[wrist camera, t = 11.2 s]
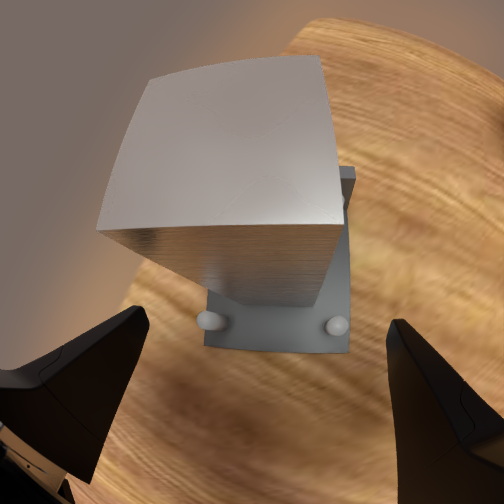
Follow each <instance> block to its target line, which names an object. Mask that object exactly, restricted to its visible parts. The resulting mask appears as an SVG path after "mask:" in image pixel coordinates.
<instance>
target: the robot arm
mask: <svg viewBox="0 0 504 504" xmlns="http://www.w3.org/2000/svg"><path fill="white" fill-rule="evenodd" d="M149 326H150V324H149V320H148V317H147V315H146V312H145V310H144V308H143V307H142V306H136V305H133V306H131V307H129V308H127V309H126V310H124V311H122V312H120V313H119V314H117V315H115V316H113V317H111V318H110V319H108V320H106V321H104V322H103V323H101V324H99V325H97V326H96V327H94V328H92V329H90V330H89V331H87V332H85V333H83V334H81V335H80V336H78V337H76V338H75V339H73V340H71V341H69V342H68V343H66V344H64V345H62V346H60V347H59V348H57V349H56V350H53V351H52V352H50V353H48V354H46V355H44V356H42V357H40V358H38V359H36V360H34V361H32V362H30V363H28V364H26V365H24V366H21V367H20V368H17V369H14V370H1V369H0V504H75V501H74V498H73V495H72V492H71V489H70V485H69V482H68V480H67V479H65V476H66V474H67V472H68V473H69V474H71V475H73V476H75V477H76V478H78V479H80V480H82V481H83V482H85V483H87V484H90V483H91V480H92V477H93V474H94V471H95V468H96V465H97V462H98V460H99V457H100V454H101V451H102V448H103V446H104V443H105V440H106V437H107V435H108V432H109V430H110V427H111V424H112V422H113V419H114V417H115V414H116V412H117V409H118V407H119V404H120V402H121V400H122V397H123V395H124V392H125V390H126V388H127V385H128V383H129V381H130V378H131V376H132V374H133V371H134V369H135V367H136V365H137V362H138V360H139V357H140V354H141V351H142V348H143V345H144V342H145V339H146V336H147V333H148V330H149ZM386 348H387V363H388V381H389V388H390V395H391V402H392V410H393V419H394V428H395V439H396V452H397V473H398V504H504V419H503V418H502V417H501V416H500V415H499V414H498V413H497V412H496V411H495V410H494V409H493V408H491V407H490V406H489V405H488V404H487V403H486V402H485V401H484V400H483V399H482V398H481V397H480V396H479V395H478V394H477V393H476V392H475V391H474V390H473V389H472V388H471V387H470V386H469V384H468V383H467V382H466V381H464V379H463V378H462V377H461V376H460V375H459V374H458V373H457V372H456V371H455V370H454V369H453V367H452V366H451V365H450V364H449V363H448V362H447V361H446V360H445V359H444V358H443V357H442V356H441V355H440V354H439V353H438V352H437V351H436V350H435V349H434V348H433V347H432V346H431V345H430V344H429V343H428V342H427V341H426V340H425V339H424V338H423V337H422V336H421V335H420V334H419V333H418V332H417V331H416V330H415V329H414V328H413V327H412V326H411V325H410V324H409V323H408V322H407V321H406V320H404V319H393V320H392V321H391V324H390V327H389V331H388V334H387V337H386Z"/></svg>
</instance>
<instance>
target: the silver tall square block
mask: <svg viewBox="0 0 504 504" xmlns="http://www.w3.org/2000/svg"><path fill="white" fill-rule="evenodd" d="M343 226H344V215H343V202H342V191H341V181H340V172H339V164H338V156H337V148H336V141H335V134H334V128H333V122H332V116H331V110H330V104H329V99H328V94H327V89H326V84H325V79H324V74H323V70H322V65H321V61H320V57H319V55H300V56H278V57H265V58H255V59H246V60H238V61H231V62H225V63H219V64H213V65H208V66H202V67H198V68H193V69H189V70H184V71H180V72H176V73H172V74H168V75H164V76H161V77H157V78H154V79H150V81H149V83H148V85H147V87H146V89H145V91H144V93H143V95H142V97H141V99H140V101H139V104H138V106H137V108H136V111H135V113H134V115H133V117H132V120H131V122H130V124H129V127H128V129H127V132H126V134H125V137H124V139H123V142H122V145H121V147H120V150H119V153H118V156H117V159H116V162H115V164H114V168H113V170H112V174H111V177H110V180H109V183H108V186H107V190H106V193H105V197H104V200H103V204H102V208H101V212H100V215H99V219H98V223H97V228H96V231H98V232H99V233H101V234H103V235H105V236H107V237H109V238H110V239H112V240H114V241H116V242H118V243H119V244H121V245H123V246H125V247H127V248H128V249H130V250H132V251H134V252H136V253H138V254H140V255H142V256H144V257H145V258H147V259H149V260H151V261H153V262H155V263H157V264H159V265H161V266H163V267H165V268H167V269H169V270H171V271H173V272H175V273H177V274H179V275H181V276H183V277H185V278H187V279H189V280H191V281H193V282H195V283H197V284H199V285H201V286H203V287H205V288H207V289H209V290H212V291H214V292H216V293H218V294H220V295H222V296H224V297H226V298H229V299H231V300H233V301H235V302H237V303H239V304H242V305H260V306H296V307H314V305H315V302H316V300H317V297H318V295H319V292H320V290H321V287H322V284H323V282H324V279H325V277H326V274H327V271H328V269H329V266H330V263H331V260H332V258H333V255H334V252H335V249H336V247H337V244H338V241H339V238H340V235H341V232H342V229H343Z"/></svg>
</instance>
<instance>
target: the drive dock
mask: <svg viewBox="0 0 504 504" xmlns="http://www.w3.org/2000/svg"><path fill="white" fill-rule="evenodd" d="M339 172H340V181H341V191H342V202H343V215H344V226H343V229H342V232H341V235H340V238H339V241H338V244H337V247H336V249H335V252H334V255H333V258H332V260H331V263H330V266H329V269H328V271H327V274H326V277H325V279H324V282H323V284H322V287H321V290H320V292H319V295H318V297H317V300H316V302H315V305H314V307H296V306H260V305H242V304H239V303H237V302H235V301H233V300H231V299H229V298H226V297H224V296H222V295H220V294H218V293H216V292H214V291H212V290H209V289H208V297H207V309H206V311H202V312H201V313H199V315H198V316H197V324H198V326H199V327H200V328H201V329H204V330H205V336H204V346H211V347H221V348H231V349H242V350H255V351H271V352H294V353H349V335H350V253H349V233H348V217H347V208H348V205H349V201H350V198H351V195H352V191H353V188H354V184H355V180H356V175H355V168H354V167H353V166H339Z"/></svg>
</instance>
